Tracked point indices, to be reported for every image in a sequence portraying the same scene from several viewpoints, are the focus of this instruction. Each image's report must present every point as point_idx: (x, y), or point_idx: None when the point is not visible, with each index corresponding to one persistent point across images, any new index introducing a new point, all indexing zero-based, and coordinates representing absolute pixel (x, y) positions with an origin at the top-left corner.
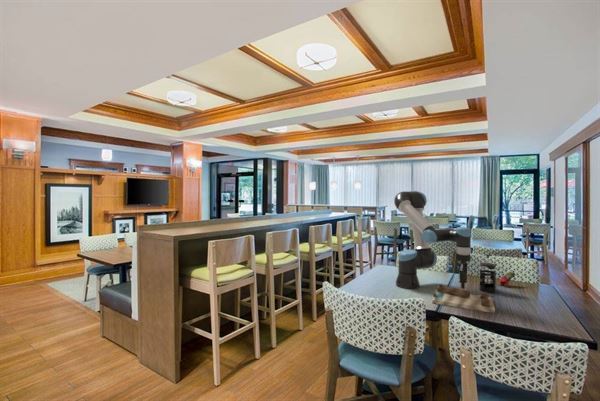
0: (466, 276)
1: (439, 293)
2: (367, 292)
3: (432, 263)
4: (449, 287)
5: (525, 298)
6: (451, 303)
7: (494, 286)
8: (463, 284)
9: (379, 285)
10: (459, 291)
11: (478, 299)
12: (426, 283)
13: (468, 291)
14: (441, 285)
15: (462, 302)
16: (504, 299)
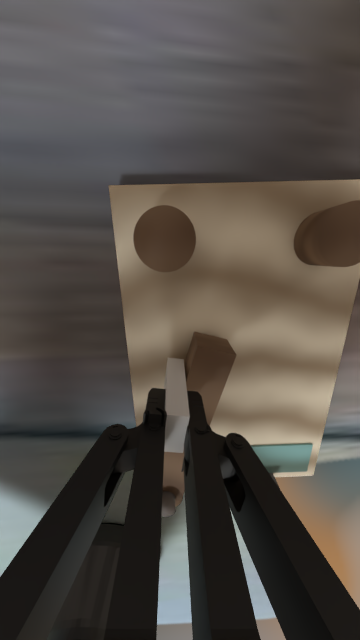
0: (106, 470)
1: None
2: (266, 613)
3: None
4: (170, 459)
5: None
6: (326, 404)
7: None
8: (205, 422)
9: (170, 608)
10: (216, 403)
11: (211, 281)
12: (20, 509)
13: (204, 355)
14: (173, 501)
15: (308, 362)
16: (22, 92)
